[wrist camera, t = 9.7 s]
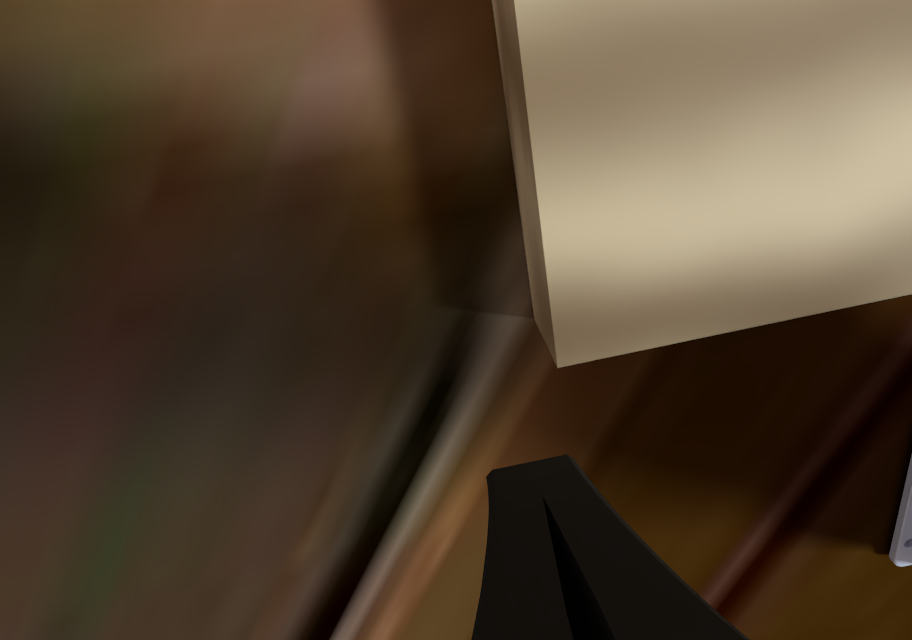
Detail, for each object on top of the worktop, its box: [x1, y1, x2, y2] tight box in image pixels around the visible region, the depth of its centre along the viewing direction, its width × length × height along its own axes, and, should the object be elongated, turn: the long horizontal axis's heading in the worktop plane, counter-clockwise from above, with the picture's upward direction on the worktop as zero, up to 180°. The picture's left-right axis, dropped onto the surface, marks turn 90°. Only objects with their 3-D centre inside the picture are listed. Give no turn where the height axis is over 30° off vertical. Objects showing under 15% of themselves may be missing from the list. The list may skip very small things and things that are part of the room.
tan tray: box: [492, 0, 912, 368], centre depth 15 cm, size 14×12×3 cm
